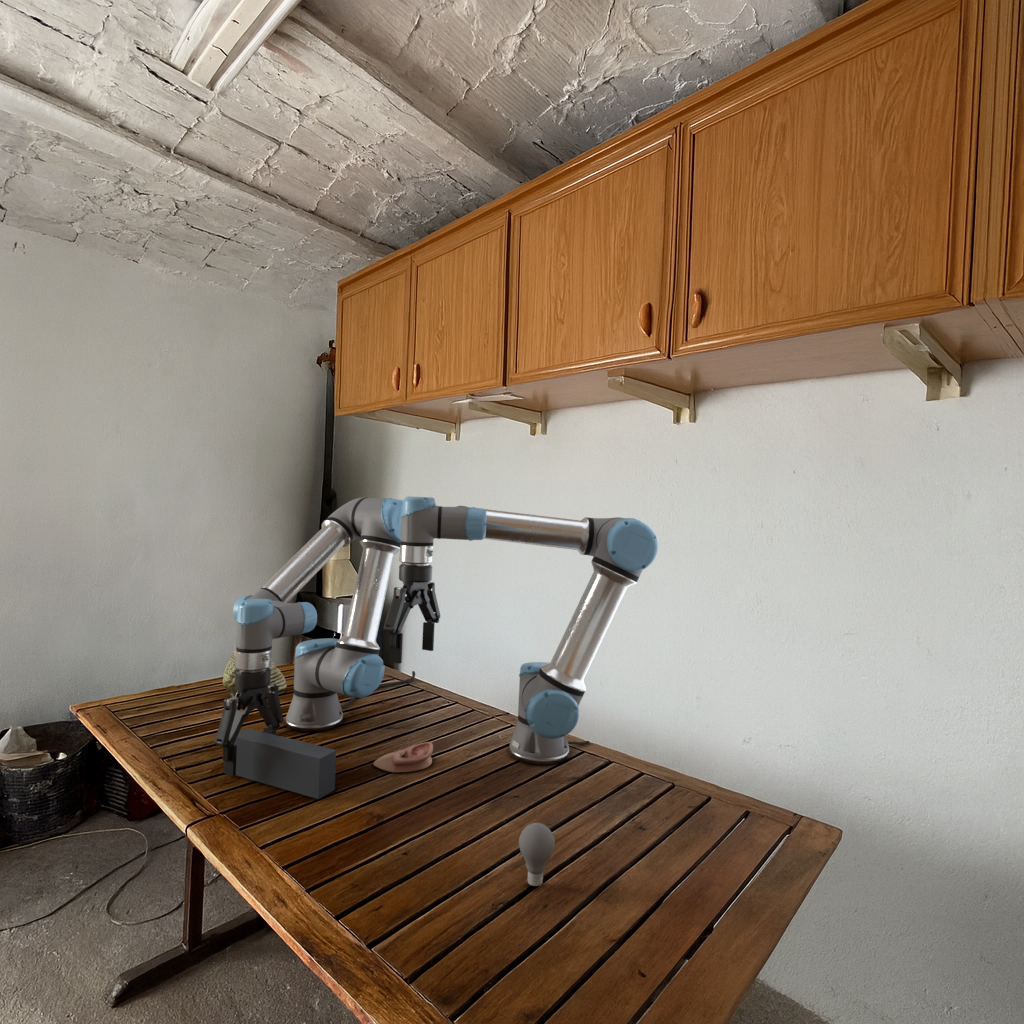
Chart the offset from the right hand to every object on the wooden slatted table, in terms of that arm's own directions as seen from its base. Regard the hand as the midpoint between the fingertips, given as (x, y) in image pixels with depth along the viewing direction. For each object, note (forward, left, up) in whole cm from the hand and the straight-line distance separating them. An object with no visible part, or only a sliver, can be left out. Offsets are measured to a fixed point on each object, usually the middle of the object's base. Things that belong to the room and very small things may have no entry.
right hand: (412, 656), depth 145 cm
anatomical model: (-1, -6, -28) cm, 28 cm away
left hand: (+33, -14, -26) cm, 44 cm away
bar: (+27, -7, -28) cm, 39 cm away
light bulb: (-7, +48, -28) cm, 56 cm away
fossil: (+26, -72, -28) cm, 82 cm away
